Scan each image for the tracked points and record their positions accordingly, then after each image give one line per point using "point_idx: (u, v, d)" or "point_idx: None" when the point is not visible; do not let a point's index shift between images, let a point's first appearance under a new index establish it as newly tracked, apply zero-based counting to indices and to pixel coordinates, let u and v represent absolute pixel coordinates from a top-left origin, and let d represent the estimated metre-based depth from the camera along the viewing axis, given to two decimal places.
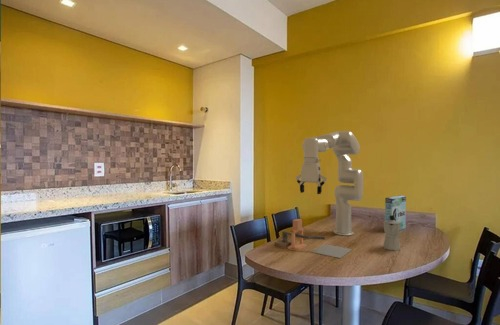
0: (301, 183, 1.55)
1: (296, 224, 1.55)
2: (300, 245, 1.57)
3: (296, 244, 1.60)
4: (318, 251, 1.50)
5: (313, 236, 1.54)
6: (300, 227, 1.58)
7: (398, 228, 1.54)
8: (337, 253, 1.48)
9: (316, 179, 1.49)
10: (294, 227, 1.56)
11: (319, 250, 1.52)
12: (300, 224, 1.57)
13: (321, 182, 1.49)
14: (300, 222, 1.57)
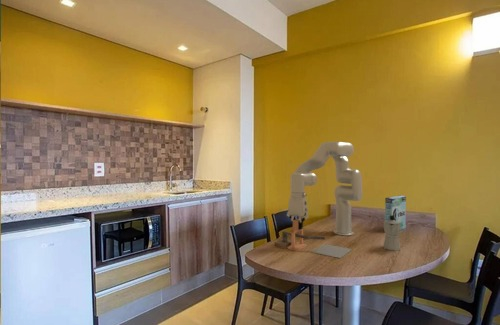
0: (292, 218, 1.58)
1: (296, 224, 1.55)
2: (300, 245, 1.57)
3: (296, 244, 1.60)
4: (318, 251, 1.50)
5: (313, 236, 1.54)
6: None
7: (398, 228, 1.54)
8: (337, 253, 1.48)
9: (302, 214, 1.54)
10: (294, 227, 1.56)
11: (319, 250, 1.52)
12: None
13: (302, 218, 1.55)
14: None
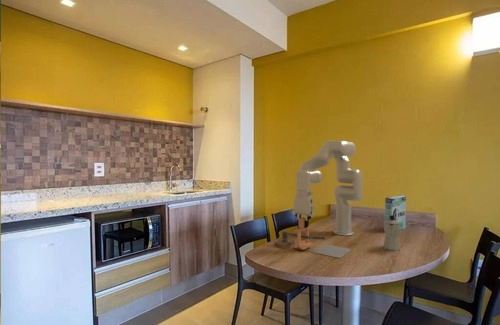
0: (298, 217, 1.56)
1: (302, 222, 1.53)
2: (306, 244, 1.55)
3: (302, 243, 1.58)
4: (318, 251, 1.50)
5: (313, 236, 1.54)
6: None
7: (398, 228, 1.54)
8: (337, 253, 1.48)
9: (308, 212, 1.52)
10: (300, 225, 1.54)
11: (319, 250, 1.52)
12: None
13: (308, 217, 1.53)
14: None
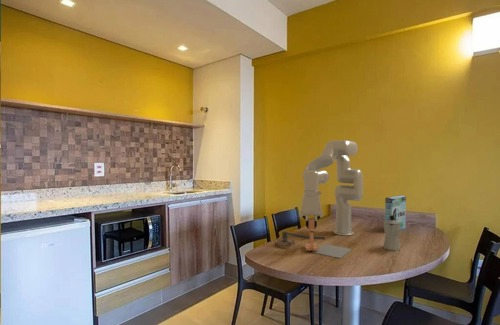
0: (307, 218, 1.53)
1: (313, 223, 1.51)
2: (314, 245, 1.54)
3: (308, 244, 1.56)
4: (318, 251, 1.50)
5: (313, 236, 1.54)
6: None
7: (398, 228, 1.54)
8: (337, 253, 1.48)
9: (319, 212, 1.51)
10: (310, 226, 1.52)
11: (319, 250, 1.52)
12: None
13: (317, 217, 1.53)
14: None
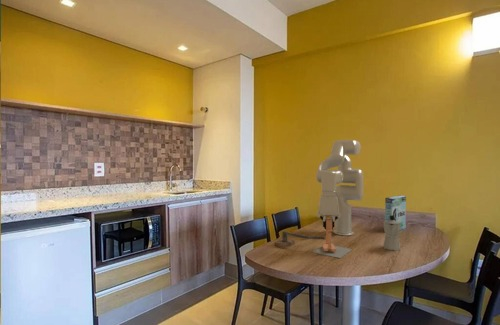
0: (324, 218, 1.52)
1: (330, 224, 1.50)
2: (331, 245, 1.53)
3: (325, 245, 1.55)
4: (318, 251, 1.50)
5: (313, 236, 1.54)
6: None
7: (398, 228, 1.54)
8: (337, 253, 1.48)
9: (337, 212, 1.50)
10: (328, 227, 1.50)
11: (319, 250, 1.52)
12: None
13: (335, 217, 1.51)
14: None
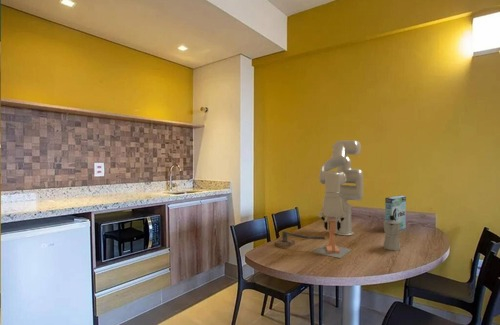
0: (326, 219, 1.52)
1: (334, 226, 1.50)
2: (335, 247, 1.53)
3: (329, 246, 1.54)
4: (318, 251, 1.50)
5: (313, 236, 1.54)
6: None
7: (398, 228, 1.54)
8: (337, 253, 1.48)
9: (341, 214, 1.50)
10: (332, 229, 1.50)
11: (319, 250, 1.52)
12: None
13: (341, 218, 1.51)
14: None
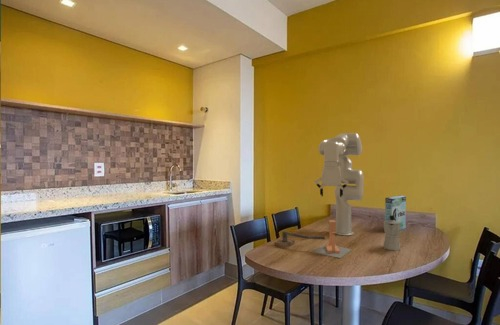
0: (322, 187, 1.55)
1: (334, 226, 1.50)
2: (335, 247, 1.53)
3: (329, 246, 1.54)
4: (318, 251, 1.50)
5: (313, 236, 1.54)
6: None
7: (398, 228, 1.54)
8: (337, 253, 1.48)
9: (339, 182, 1.52)
10: (332, 229, 1.50)
11: (319, 250, 1.52)
12: None
13: (343, 185, 1.53)
14: None
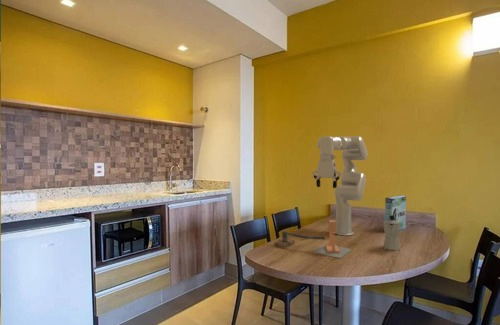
0: (317, 178, 1.68)
1: (334, 226, 1.50)
2: (335, 247, 1.53)
3: (329, 246, 1.54)
4: (318, 251, 1.50)
5: (313, 236, 1.54)
6: None
7: (398, 228, 1.54)
8: (337, 253, 1.48)
9: (332, 174, 1.62)
10: (332, 229, 1.50)
11: (319, 250, 1.52)
12: None
13: (336, 177, 1.62)
14: None
